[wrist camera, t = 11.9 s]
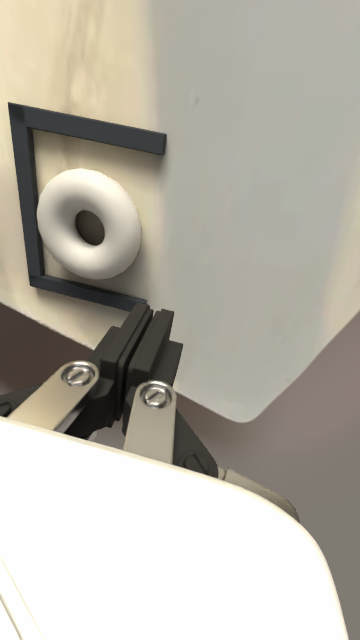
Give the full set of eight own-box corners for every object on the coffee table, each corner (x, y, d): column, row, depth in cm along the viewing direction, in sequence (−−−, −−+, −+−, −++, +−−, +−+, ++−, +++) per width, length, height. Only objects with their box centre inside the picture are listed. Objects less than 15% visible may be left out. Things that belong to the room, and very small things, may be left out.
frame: (34, 283, 34) (29, 286, 33) (14, 103, 25) (7, 102, 24) (145, 311, 33) (143, 315, 32) (167, 134, 24) (164, 133, 23)
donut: (142, 167, 25) (38, 166, 27) (129, 169, 22) (13, 169, 24) (149, 275, 30) (61, 269, 32) (139, 288, 27) (43, 281, 29)
